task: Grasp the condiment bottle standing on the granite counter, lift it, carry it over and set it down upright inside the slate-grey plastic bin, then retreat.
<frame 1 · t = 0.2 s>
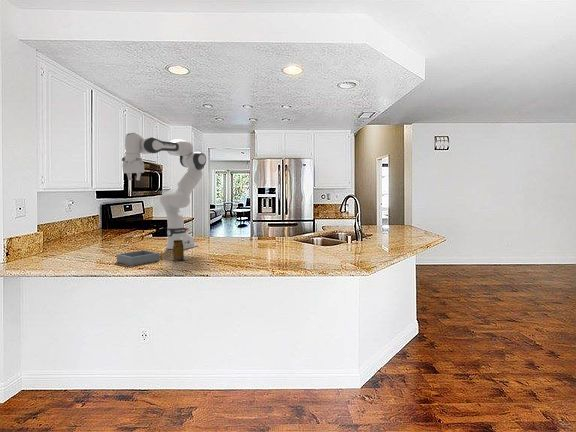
hand: (134, 180, 275), 48 cm above the countertop, fingers open, 8 cm apart
bin: (138, 261, 254), on the countertop
condiment: (180, 260, 257), on the countertop
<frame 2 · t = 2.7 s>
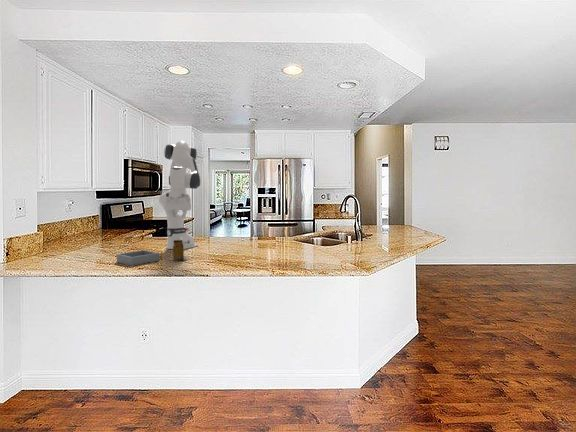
hand: (178, 217, 255), 26 cm above the countertop, fingers open, 8 cm apart
nothing on the countertop moved.
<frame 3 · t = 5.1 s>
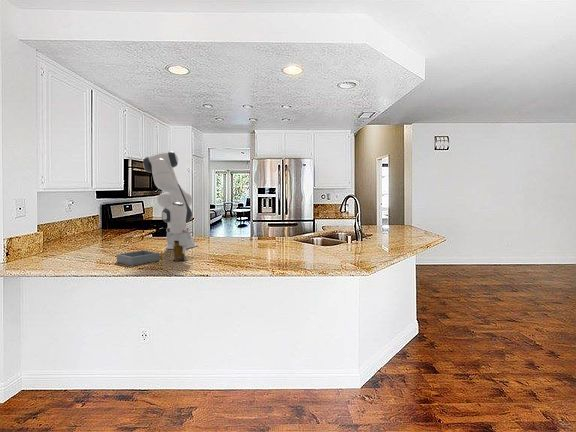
hand: (179, 252, 257), 4 cm above the countertop, fingers closed on condiment, 6 cm apart
condiment: (180, 260, 257), on the countertop, touching gripper
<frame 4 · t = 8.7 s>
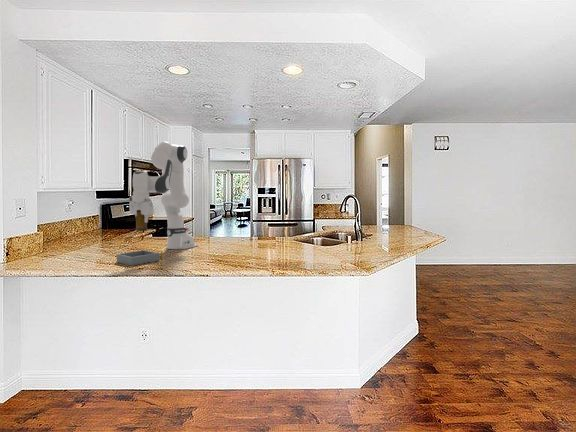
hand: (142, 222, 252), 23 cm above the countertop, fingers closed on condiment, 6 cm apart
condiment: (143, 230, 252), point 18 cm above the countertop, touching gripper
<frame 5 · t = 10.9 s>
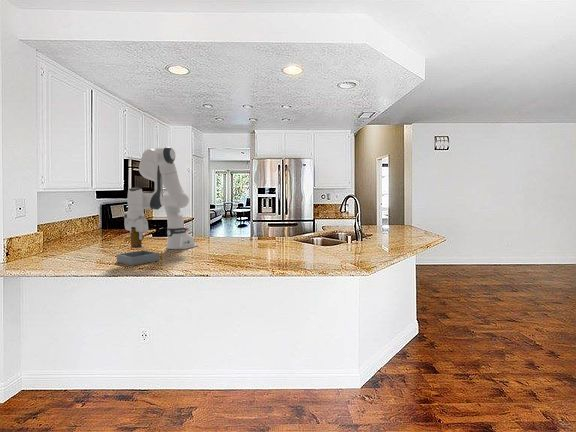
hand: (136, 239, 253), 13 cm above the countertop, fingers closed on condiment, 6 cm apart
condiment: (137, 247, 253), point 8 cm above the countertop, touching gripper
when the fingers open (7 cm above the countertop, at t = 12.7 s): condiment drops 1 cm, resting on bin.
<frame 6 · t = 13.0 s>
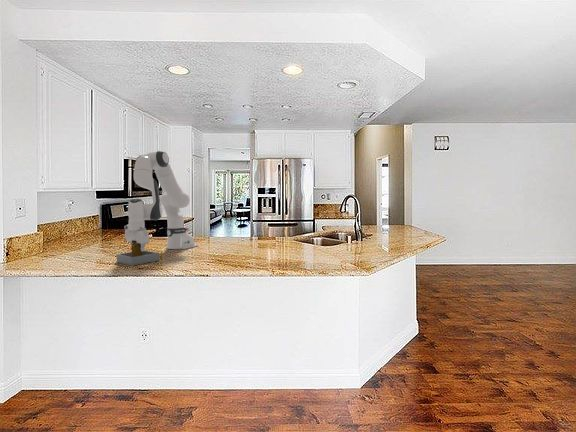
hand: (137, 250, 253), 7 cm above the countertop, fingers open, 8 cm apart
condiment: (138, 260, 253), point 1 cm above the countertop, touching bin
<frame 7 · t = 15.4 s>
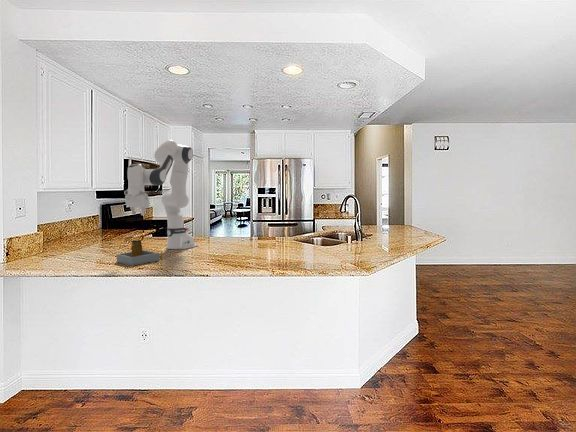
hand: (138, 214, 256), 27 cm above the countertop, fingers open, 8 cm apart
nothing on the countertop moved.
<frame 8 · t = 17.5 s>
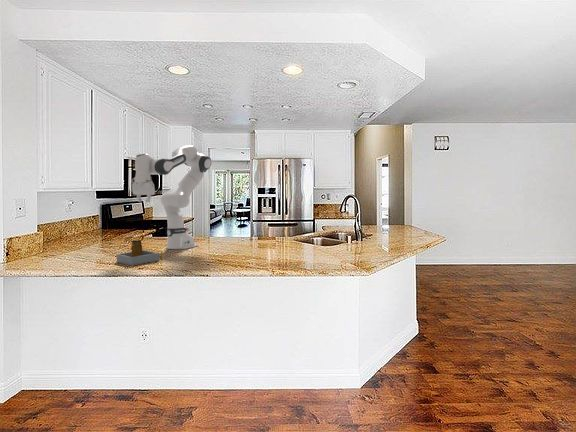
hand: (144, 201, 270), 34 cm above the countertop, fingers open, 8 cm apart
nothing on the countertop moved.
at the end: condiment inside the target area on the bin (0.6 cm from its centre), point 0.6 cm above the bin's base; condiment tilted 0°; the gripper is holding nothing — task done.
